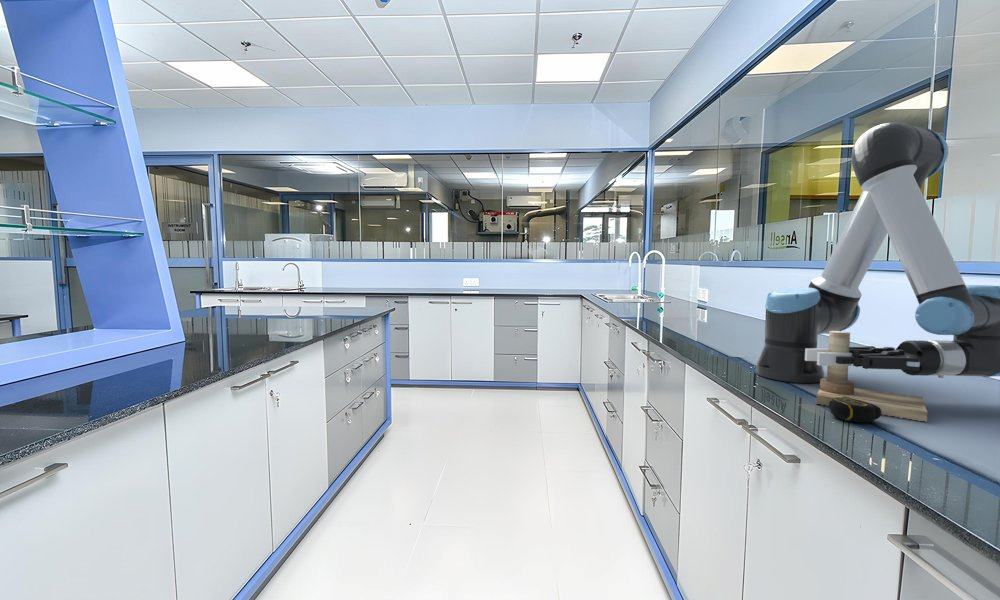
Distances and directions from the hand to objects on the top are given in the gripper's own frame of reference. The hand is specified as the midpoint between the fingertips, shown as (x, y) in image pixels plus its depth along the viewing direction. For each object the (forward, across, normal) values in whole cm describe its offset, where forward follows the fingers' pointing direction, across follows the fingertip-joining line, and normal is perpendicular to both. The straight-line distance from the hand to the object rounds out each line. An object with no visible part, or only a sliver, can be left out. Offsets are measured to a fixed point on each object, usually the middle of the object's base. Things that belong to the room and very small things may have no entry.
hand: (812, 356), depth 97 cm
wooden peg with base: (-5, 0, -8) cm, 9 cm away
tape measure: (-1, -12, -10) cm, 16 cm away
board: (-9, -4, -10) cm, 14 cm away
